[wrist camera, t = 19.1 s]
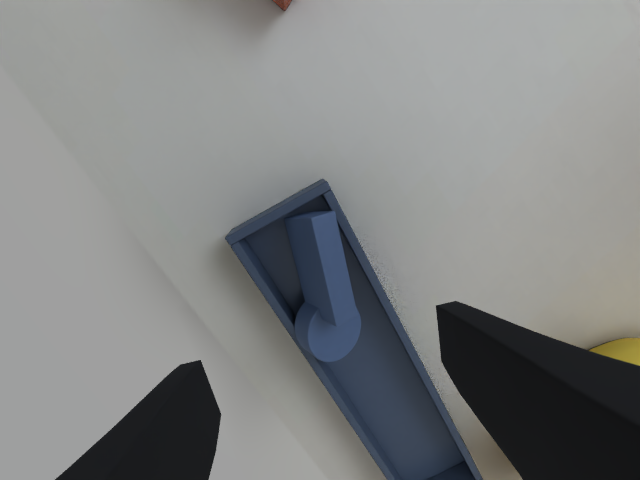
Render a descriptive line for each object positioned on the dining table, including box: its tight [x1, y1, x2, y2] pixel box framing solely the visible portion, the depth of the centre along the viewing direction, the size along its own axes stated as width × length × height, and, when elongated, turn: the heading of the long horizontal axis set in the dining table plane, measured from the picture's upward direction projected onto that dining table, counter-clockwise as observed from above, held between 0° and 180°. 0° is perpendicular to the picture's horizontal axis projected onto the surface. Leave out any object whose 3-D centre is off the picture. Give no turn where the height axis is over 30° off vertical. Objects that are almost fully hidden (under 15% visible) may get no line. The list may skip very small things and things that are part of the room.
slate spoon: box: [284, 211, 361, 362], centre depth 16 cm, size 8×4×3 cm, turn 13°
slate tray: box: [225, 179, 483, 480], centre depth 19 cm, size 25×6×2 cm, turn 28°
